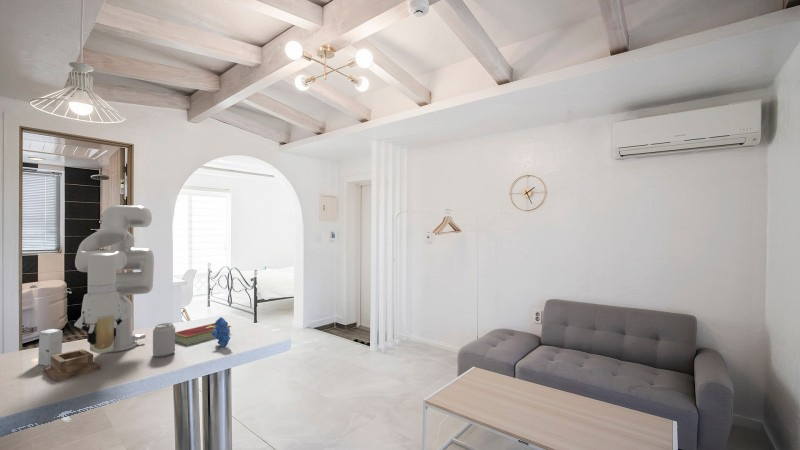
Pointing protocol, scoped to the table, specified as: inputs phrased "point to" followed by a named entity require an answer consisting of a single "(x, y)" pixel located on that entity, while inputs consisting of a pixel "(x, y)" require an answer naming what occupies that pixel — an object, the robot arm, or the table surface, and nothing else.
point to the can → (163, 339)
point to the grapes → (221, 332)
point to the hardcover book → (196, 334)
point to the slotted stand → (71, 364)
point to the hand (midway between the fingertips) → (101, 340)
